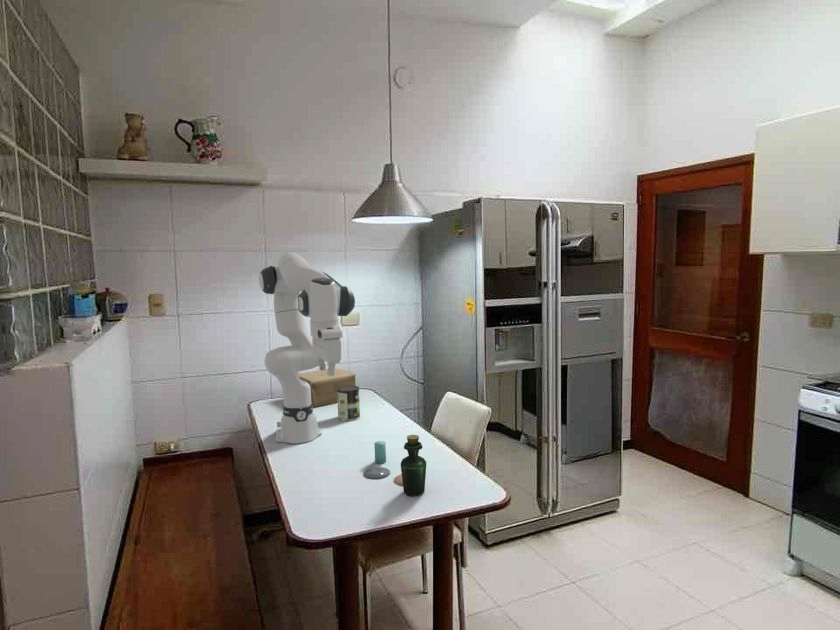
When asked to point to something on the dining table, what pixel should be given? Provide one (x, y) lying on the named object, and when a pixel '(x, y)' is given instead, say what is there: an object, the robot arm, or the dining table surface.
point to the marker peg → (380, 452)
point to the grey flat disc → (376, 472)
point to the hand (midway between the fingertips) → (326, 372)
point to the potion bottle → (413, 468)
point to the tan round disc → (398, 480)
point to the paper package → (326, 385)
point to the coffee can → (348, 403)
